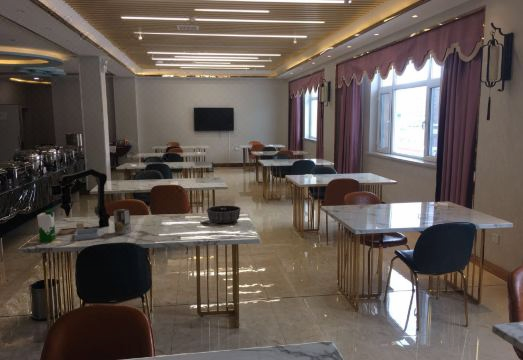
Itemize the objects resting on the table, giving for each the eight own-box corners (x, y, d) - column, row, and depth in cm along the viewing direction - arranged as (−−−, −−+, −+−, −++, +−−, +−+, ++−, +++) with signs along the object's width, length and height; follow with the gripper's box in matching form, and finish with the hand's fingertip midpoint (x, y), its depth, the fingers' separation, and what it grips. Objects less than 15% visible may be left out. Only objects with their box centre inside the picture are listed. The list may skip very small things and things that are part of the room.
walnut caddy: (88, 228, 317) (88, 226, 317) (87, 233, 303) (87, 231, 303) (60, 230, 311) (60, 228, 311) (57, 235, 297) (57, 234, 297)
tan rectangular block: (72, 216, 305) (71, 208, 304) (71, 217, 301) (70, 209, 300) (65, 216, 304) (64, 209, 303) (64, 218, 299) (63, 210, 299)
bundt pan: (204, 218, 345) (204, 205, 344) (237, 216, 351) (237, 204, 350) (208, 226, 320) (208, 213, 319) (243, 224, 326) (243, 211, 325)
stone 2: (84, 229, 311) (83, 222, 310) (83, 231, 307) (83, 223, 306) (77, 230, 310) (76, 222, 309) (76, 231, 306) (76, 224, 305)
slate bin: (99, 233, 304) (98, 228, 303) (97, 238, 290) (97, 233, 290) (77, 234, 300) (76, 229, 299) (74, 240, 286) (74, 235, 286)
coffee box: (131, 231, 306) (130, 209, 304) (125, 234, 300) (124, 211, 298) (120, 230, 309) (119, 208, 307) (114, 233, 303) (113, 210, 301)
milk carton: (52, 242, 282) (49, 212, 279) (37, 242, 281) (35, 212, 278) (57, 238, 291) (55, 209, 288) (43, 239, 290) (40, 209, 287)
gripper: (55, 192, 306) (57, 213, 309) (51, 196, 289) (53, 219, 291) (72, 191, 309) (74, 212, 312) (69, 195, 292) (71, 218, 294)
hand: (68, 215), depth 302 cm, fingers closed on tan rectangular block, 4 cm apart
